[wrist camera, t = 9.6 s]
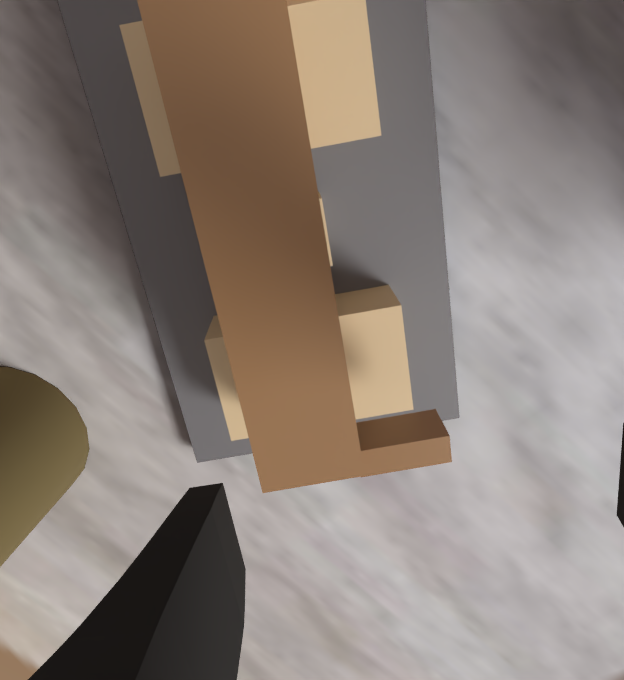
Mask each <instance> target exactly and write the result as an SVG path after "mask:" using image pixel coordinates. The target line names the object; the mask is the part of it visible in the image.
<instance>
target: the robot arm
mask: <svg viewBox="0 0 624 680" xmlns="http://www.w3.org/2000/svg"><path fill="white" fill-rule="evenodd" d="M617 516H618V518H619V520H620V521H621V523H622V525H623V526H624V423H623V436H622V450H621V464H620V478H619V491H618V505H617ZM244 612H245V566H244V562H243V558H242V554H241V550H240V547H239V543H238V539H237V535H236V531H235V528H234V524H233V520H232V516H231V512H230V509H229V505H228V501H227V497H226V494H225V490H224V486H223V483H219V484H213V485H206V486H199V487H193V488H189V490H188V491H187V492H186V493H185V495H184V496H183V497H182V499H181V500H180V501H179V502H178V504H177V505H176V506H175V508H174V509H173V510H172V512H171V513H170V514H169V516H168V517H167V518H166V520H165V521H164V522H163V524H162V525H161V526H160V528H159V529H158V530H157V532H156V533H155V534H154V536H153V537H152V538H151V540H150V541H149V542H148V544H147V545H146V546H145V548H144V549H143V550H142V551H141V553H140V554H139V555H138V556H137V558H136V559H135V560H134V562H133V563H132V564H131V565H130V567H129V568H128V569H127V570H126V572H125V573H124V574H123V576H122V577H121V578H120V579H119V581H118V582H117V583H116V584H115V585H114V586H113V588H112V589H111V590H110V591H109V592H108V593H107V595H106V596H105V597H104V598H103V599H102V601H101V602H100V603H99V604H98V605H97V606H96V608H95V609H94V610H93V611H92V612H91V613H90V615H89V616H88V617H87V618H86V619H85V620H84V622H83V623H82V624H81V625H80V626H79V627H78V628H77V629H76V631H75V632H74V633H73V634H72V635H71V636H70V637H69V638H68V639H67V640H66V641H65V642H64V643H63V645H62V646H61V647H60V648H59V649H58V650H57V651H56V652H55V653H54V654H53V655H52V656H51V657H50V658H49V659H48V660H47V661H46V662H45V663H44V664H43V665H42V666H41V667H40V668H39V669H38V670H37V671H36V672H35V673H34V674H33V675H32V676H31V677H30V678H29V679H28V680H237V673H238V666H239V659H240V652H241V644H242V637H243V629H244Z"/></svg>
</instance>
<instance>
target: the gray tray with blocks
mask: <svg viewBox="0 0 624 680" xmlns="http://www.w3.org/2000/svg"><path fill="white" fill-rule="evenodd" d="M57 1H58V4H59V8H60V11H61V14H62V18H63V21H64V24H65V28H66V31H67V34H68V38H69V41H70V44H71V47H72V51H73V54H74V57H75V61H76V64H77V67H78V71H79V74H80V77H81V80H82V84H83V87H84V90H85V94H86V97H87V100H88V104H89V107H90V110H91V113H92V117H93V120H94V123H95V127H96V130H97V133H98V137H99V140H100V143H101V146H102V150H103V153H104V156H105V160H106V163H107V166H108V170H109V173H110V176H111V180H112V183H113V186H114V189H115V193H116V196H117V199H118V203H119V206H120V209H121V213H122V216H123V219H124V222H125V226H126V229H127V232H128V236H129V239H130V242H131V246H132V249H133V252H134V255H135V259H136V262H137V265H138V269H139V272H140V275H141V279H142V282H143V285H144V288H145V292H146V295H147V298H148V302H149V305H150V308H151V312H152V315H153V318H154V322H155V325H156V328H157V331H158V335H159V338H160V341H161V345H162V348H163V351H164V355H165V358H166V361H167V364H168V368H169V371H170V374H171V378H172V381H173V384H174V388H175V391H176V394H177V397H178V401H179V404H180V407H181V411H182V414H183V417H184V421H185V424H186V427H187V431H188V434H189V437H190V440H191V444H192V447H193V450H194V454H195V457H196V460H197V463H198V462H204V461H210V460H216V459H222V458H228V457H234V456H239V455H245V454H251V453H252V449H251V445H250V441H249V437H248V433H247V429H246V425H245V421H244V417H243V413H242V409H241V406H240V402H239V398H238V394H237V390H236V386H235V382H234V378H233V374H232V370H231V366H230V362H229V358H228V355H227V351H226V347H225V343H224V339H223V335H222V331H221V327H220V323H219V319H218V315H217V311H216V308H215V304H214V300H213V296H212V292H211V288H210V284H209V280H208V276H207V272H206V268H205V264H204V260H203V257H202V253H201V249H200V245H199V241H198V237H197V233H196V229H195V225H194V221H193V217H192V213H191V209H190V206H189V202H188V198H187V194H186V190H185V186H184V182H183V178H182V174H181V170H180V166H179V162H178V159H177V155H176V151H175V147H174V143H173V139H172V135H171V131H170V127H169V123H168V119H167V115H166V111H165V108H164V104H163V100H162V96H161V92H160V88H159V84H158V80H157V76H156V72H155V68H154V64H153V61H152V57H151V53H150V49H149V45H148V41H147V37H146V33H145V29H144V25H143V21H142V17H141V13H140V10H139V6H138V2H137V0H57ZM287 7H288V13H289V19H290V25H291V31H292V37H293V43H294V49H295V55H296V62H297V68H298V74H299V80H300V86H301V92H302V98H303V104H304V110H305V116H306V122H307V128H308V134H309V140H310V146H311V152H312V158H313V164H314V170H315V177H316V183H317V189H318V195H319V201H320V207H321V213H322V219H323V225H324V231H325V237H326V243H327V249H328V255H329V261H330V267H331V273H332V279H333V285H334V291H335V298H336V304H337V310H338V316H339V322H340V328H341V334H342V340H343V346H344V352H345V358H346V364H347V370H348V376H349V382H350V388H351V394H352V400H353V406H354V413H355V419H356V423H357V422H362V421H368V420H374V419H380V418H386V417H391V416H397V415H403V414H409V413H415V412H421V411H426V410H432V409H436V411H437V413H438V415H439V417H440V419H441V420H442V421H444V420H450V419H455V418H459V407H458V394H457V382H456V370H455V357H454V345H453V333H452V320H451V308H450V296H449V283H448V271H447V259H446V246H445V234H444V222H443V209H442V197H441V185H440V172H439V160H438V148H437V135H436V123H435V111H434V99H433V86H432V74H431V62H430V49H429V37H428V25H427V12H426V0H317V1H312V2H306V3H301V4H296V5H291V6H287Z"/></svg>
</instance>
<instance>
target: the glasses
mask: <svg viewBox="0 0 624 680" xmlns="http://www.w3.org/2000/svg"><path fill="white" fill-rule="evenodd" d="M312 1H317V0H137V2H138V6H139V10H140V13H141V17H142V21H143V25H144V29H145V33H146V37H147V41H148V45H149V49H150V53H151V57H152V61H153V64H154V68H155V72H156V76H157V80H158V84H159V88H160V92H161V96H162V100H163V104H164V108H165V111H166V115H167V119H168V123H169V127H170V131H171V135H172V139H173V143H174V147H175V151H176V155H177V159H178V162H179V166H180V170H181V174H182V178H183V182H184V186H185V190H186V194H187V198H188V202H189V206H190V209H191V213H192V217H193V221H194V225H195V229H196V233H197V237H198V241H199V245H200V249H201V253H202V257H203V260H204V264H205V268H206V272H207V276H208V280H209V284H210V288H211V292H212V296H213V300H214V304H215V308H216V311H217V315H218V319H219V323H220V327H221V331H222V335H223V339H224V343H225V347H226V351H227V355H228V358H229V362H230V366H231V370H232V374H233V378H234V382H235V386H236V390H237V394H238V398H239V402H240V406H241V409H242V413H243V417H244V421H245V425H246V429H247V433H248V437H249V441H250V445H251V449H252V453H253V456H254V460H255V464H256V468H257V472H258V476H259V480H260V484H261V488H262V492H263V493H266V492H272V491H278V490H283V489H289V488H295V487H301V486H307V485H313V484H319V483H325V482H331V481H337V480H342V479H348V478H354V477H360V476H361V477H365V476H371V475H377V474H383V473H389V472H395V471H401V470H407V469H413V468H419V467H424V466H430V465H436V464H442V463H448V462H452V459H451V448H450V437H449V434H448V432H447V430H446V428H445V426H444V424H443V422H442V420H441V419H440V417H439V415H438V413H437V411H436V409H432V410H426V411H421V412H415V413H409V414H403V415H397V416H391V417H386V418H380V419H374V420H368V421H362V422H357V423H356V419H355V413H354V406H353V400H352V394H351V388H350V382H349V376H348V370H347V364H346V358H345V352H344V346H343V340H342V334H341V328H340V322H339V316H338V310H337V304H336V298H335V291H334V285H333V279H332V273H331V267H330V261H329V255H328V249H327V243H326V237H325V231H324V225H323V219H322V213H321V207H320V201H319V195H318V189H317V183H316V177H315V170H314V164H313V158H312V152H311V146H310V140H309V134H308V128H307V122H306V116H305V110H304V104H303V98H302V92H301V86H300V80H299V74H298V68H297V62H296V55H295V49H294V43H293V37H292V31H291V25H290V19H289V13H288V7H287V6H291V5H296V4H301V3H306V2H312Z"/></svg>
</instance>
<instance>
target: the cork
mask: <svg viewBox="0 0 624 680" xmlns="http://www.w3.org/2000/svg"><path fill="white" fill-rule="evenodd" d="M88 452H89V443H88V435H87V428H86V426H85V424H84V422H83V420H82V418H81V416H80V414H79V412H78V410H77V408H76V407H75V406H74V405H73V404H72V403H71V402H70V400H69V399H68V398H67V397H66V396H65V395H64V394H63V393H62V392H61V391H60V390H59V389H58V388H56V387H54V386H53V385H51V384H49V383H48V382H46V381H44V380H43V379H41V378H39V377H38V376H36V375H34V374H31V373H27V372H24V371H21V370H17V369H14V368H10V367H0V566H1V565H2V564H3V563H4V562H5V561H6V560H7V558H8V557H9V556H10V555H11V554H12V553H13V552H14V550H15V549H16V548H17V547H18V546H19V545H20V544H21V542H22V541H23V540H24V539H25V538H26V537H27V536H28V534H29V533H30V532H31V531H32V530H33V529H34V528H35V526H36V525H37V524H38V523H39V522H40V521H41V520H42V518H43V517H44V516H45V515H46V514H47V513H48V512H49V510H50V509H51V508H52V507H53V506H54V505H55V504H56V502H57V501H58V500H59V499H60V498H61V497H62V496H63V494H64V493H65V492H66V491H67V490H68V489H69V488H70V486H71V485H72V484H73V483H74V481H75V480H76V479H77V478H78V476H79V475H80V474H81V472H82V471H83V470H84V468H85V464H86V460H87V456H88Z"/></svg>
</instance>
